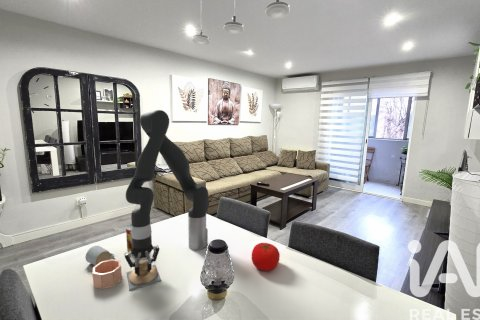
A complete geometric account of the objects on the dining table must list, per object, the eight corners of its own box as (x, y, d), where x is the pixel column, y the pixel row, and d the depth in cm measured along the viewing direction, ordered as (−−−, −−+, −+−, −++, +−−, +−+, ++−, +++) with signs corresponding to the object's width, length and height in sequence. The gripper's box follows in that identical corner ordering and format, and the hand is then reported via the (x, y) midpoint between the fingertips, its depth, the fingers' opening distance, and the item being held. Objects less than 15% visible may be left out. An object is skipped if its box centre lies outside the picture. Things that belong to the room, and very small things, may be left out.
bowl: (120, 269, 104) (119, 257, 104) (122, 283, 96) (121, 269, 95) (94, 276, 99) (93, 263, 99) (93, 291, 91) (92, 277, 90)
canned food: (133, 254, 117) (132, 231, 115) (124, 249, 121) (122, 227, 119) (147, 247, 123) (146, 225, 121) (137, 243, 127) (136, 222, 126)
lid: (154, 265, 107) (154, 252, 106) (159, 279, 98) (159, 265, 97) (127, 272, 102) (127, 259, 101) (130, 288, 92) (129, 273, 91)
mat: (155, 265, 108) (155, 264, 108) (161, 281, 98) (161, 279, 98) (126, 273, 102) (126, 272, 102) (129, 290, 92) (129, 289, 92)
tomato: (253, 256, 118) (254, 236, 116) (279, 259, 115) (280, 239, 114) (248, 273, 104) (249, 251, 102) (278, 278, 101) (279, 255, 100)
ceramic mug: (97, 270, 103) (96, 254, 102) (85, 265, 107) (84, 249, 106) (118, 259, 113) (118, 244, 112) (107, 254, 116) (106, 239, 115)
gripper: (157, 227, 104) (158, 263, 106) (121, 234, 97) (123, 272, 99) (161, 234, 97) (162, 272, 100) (123, 242, 90) (125, 283, 93)
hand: (143, 272), depth 100 cm, fingers open, 3 cm apart
